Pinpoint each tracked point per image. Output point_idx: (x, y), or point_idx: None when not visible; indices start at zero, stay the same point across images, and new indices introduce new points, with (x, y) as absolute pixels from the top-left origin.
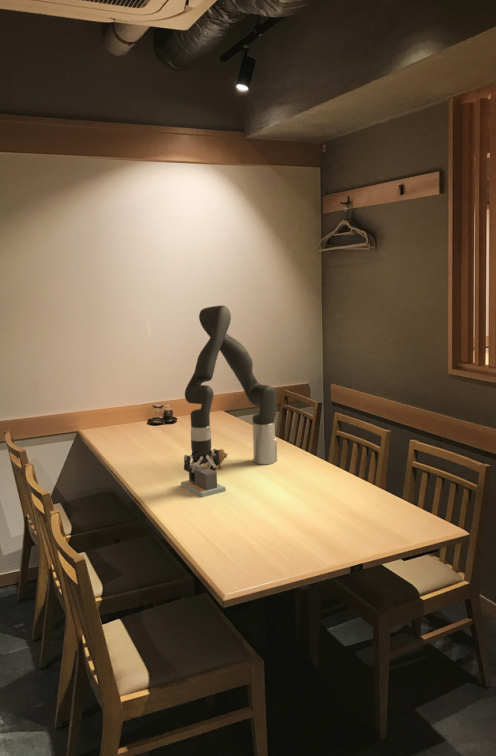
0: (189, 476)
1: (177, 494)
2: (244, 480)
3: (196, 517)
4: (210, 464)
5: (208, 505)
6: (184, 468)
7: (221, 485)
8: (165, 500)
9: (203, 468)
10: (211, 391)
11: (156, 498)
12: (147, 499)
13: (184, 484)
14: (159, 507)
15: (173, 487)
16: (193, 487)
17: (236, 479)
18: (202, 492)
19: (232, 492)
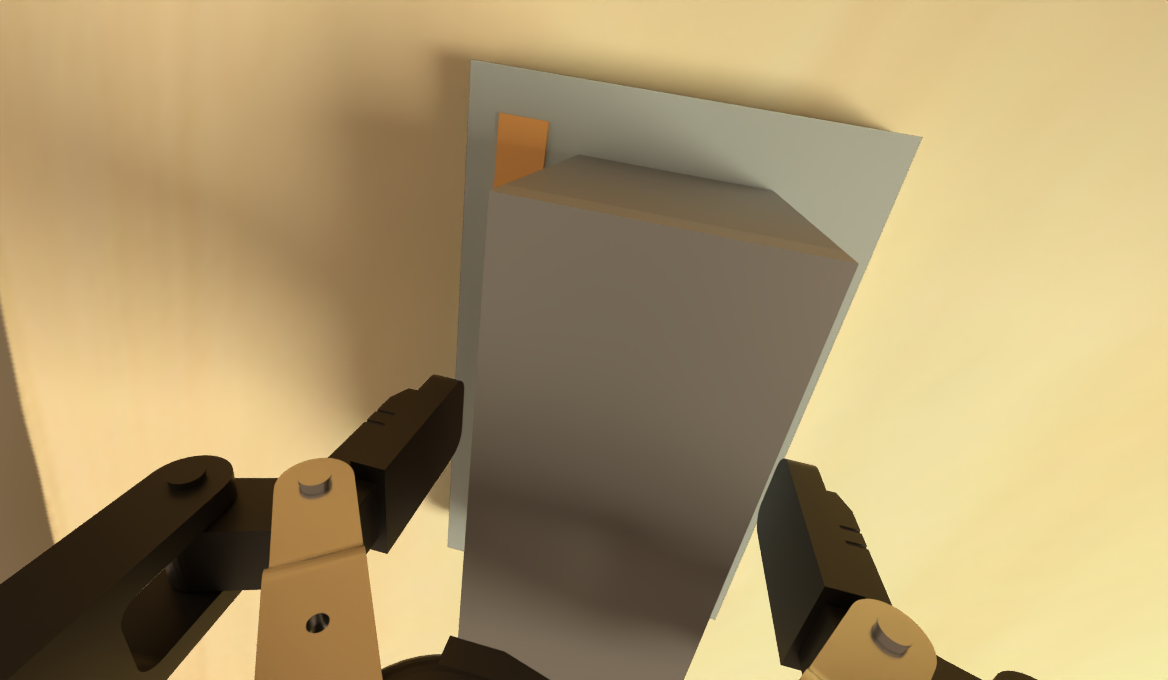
0: (369, 419)
1: (313, 291)
2: (1161, 570)
3: (254, 661)
4: (845, 658)
5: (403, 629)
6: (139, 498)
7: (735, 568)
8: (161, 322)
9: (625, 574)
10: None
11: (93, 209)
12: (4, 156)
13: (469, 182)
14: (83, 399)
15: (377, 38)
16: (473, 381)
17: (1165, 483)
18: (458, 538)
19: (725, 636)
